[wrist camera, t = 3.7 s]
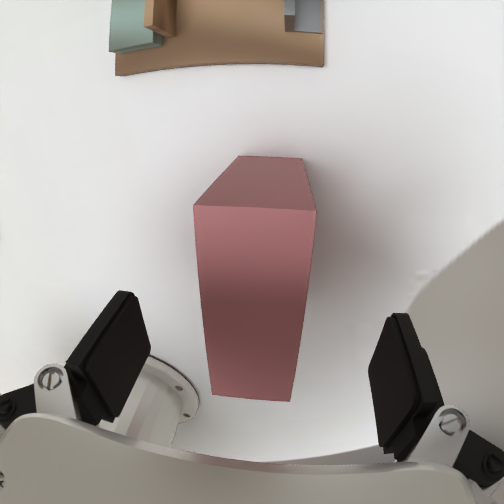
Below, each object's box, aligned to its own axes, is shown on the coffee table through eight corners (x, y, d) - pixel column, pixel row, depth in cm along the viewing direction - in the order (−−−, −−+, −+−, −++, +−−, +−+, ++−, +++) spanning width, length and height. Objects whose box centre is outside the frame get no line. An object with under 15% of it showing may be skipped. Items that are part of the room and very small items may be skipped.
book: (291, 292, 23) (289, 401, 14) (239, 288, 23) (212, 394, 14) (302, 158, 18) (316, 211, 10) (238, 155, 19) (193, 205, 10)
